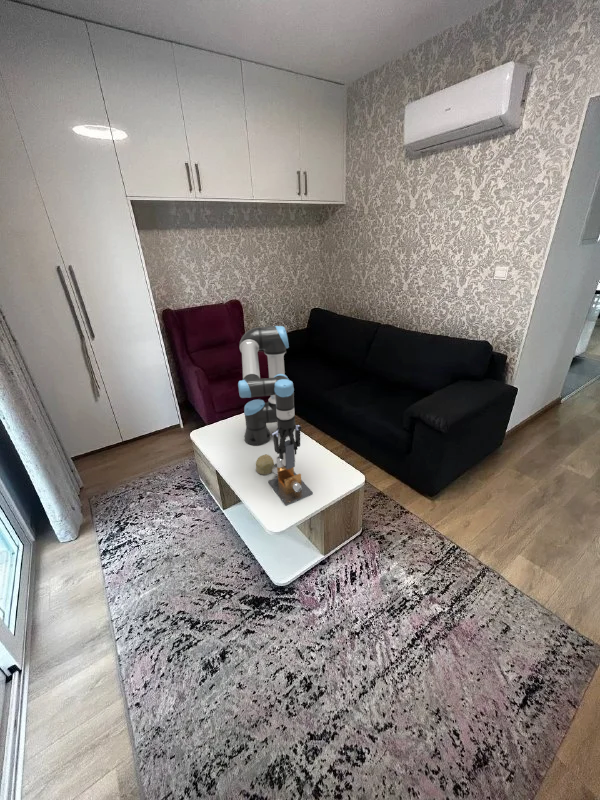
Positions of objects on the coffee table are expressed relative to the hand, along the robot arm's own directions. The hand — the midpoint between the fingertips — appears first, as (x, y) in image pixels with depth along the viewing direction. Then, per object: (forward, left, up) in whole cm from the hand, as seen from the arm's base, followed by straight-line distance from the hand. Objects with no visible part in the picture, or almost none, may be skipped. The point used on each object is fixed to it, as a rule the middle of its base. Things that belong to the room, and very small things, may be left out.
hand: (288, 462), depth 147 cm
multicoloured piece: (-2, 0, -15) cm, 15 cm away
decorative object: (-19, -4, -15) cm, 25 cm away
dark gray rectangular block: (0, 0, -2) cm, 2 cm away
